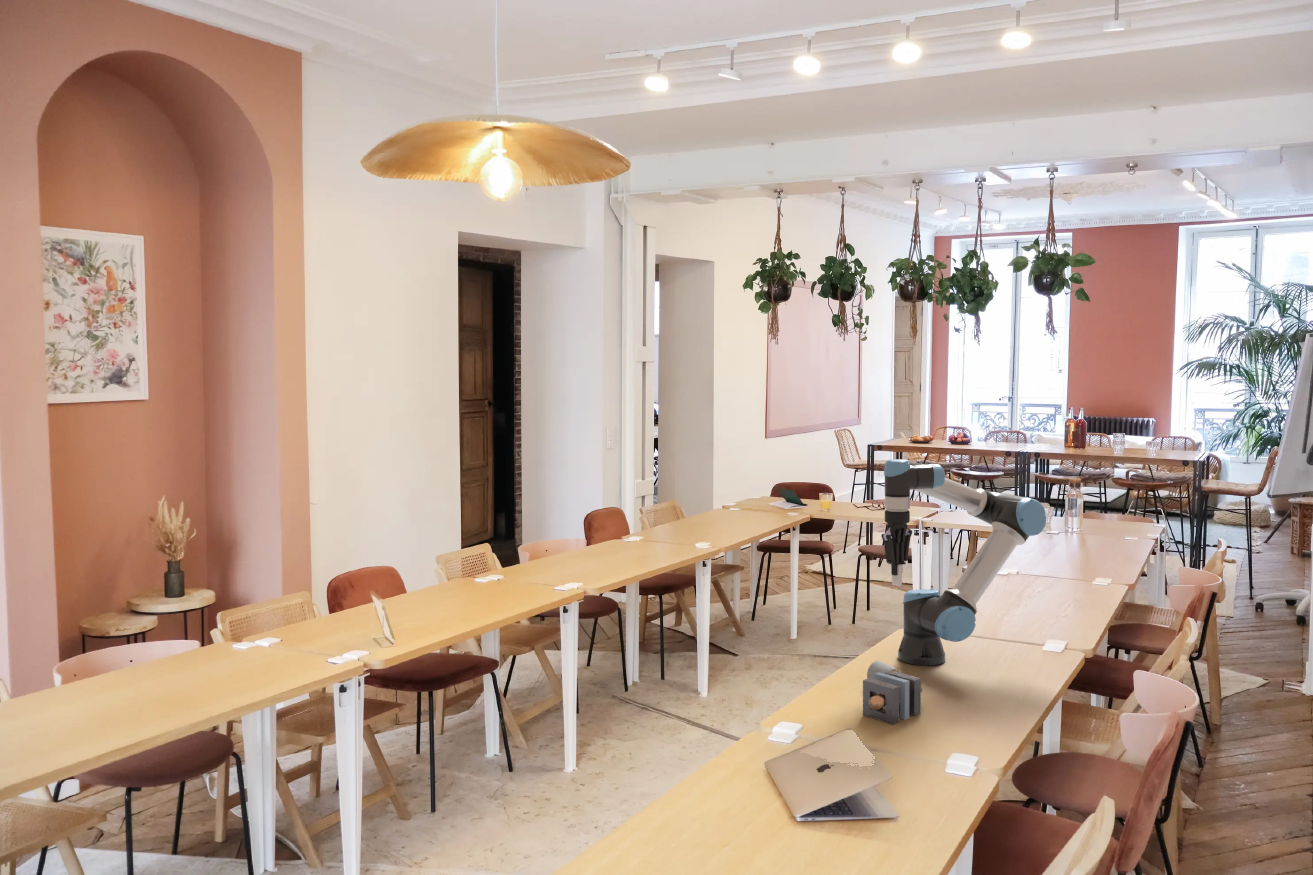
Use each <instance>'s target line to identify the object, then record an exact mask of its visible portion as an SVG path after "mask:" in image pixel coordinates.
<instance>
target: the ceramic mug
mask: <svg viewBox="0 0 1313 875" xmlns="http://www.w3.org/2000/svg"><path fill="white" fill-rule="evenodd" d="M890 670H892V671H896V672H900V673H901V671H900V670H899V669H898V668H896V667H895V666H892V665H890V664H888V663H886V662H883V661H881V660H874V661H873V662H871V664H870V665H869V667H868V669H867V672H866V679H868V678H872V679H875V673H878V672H880V673H884V674H885V672H887V671H890Z"/></svg>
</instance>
